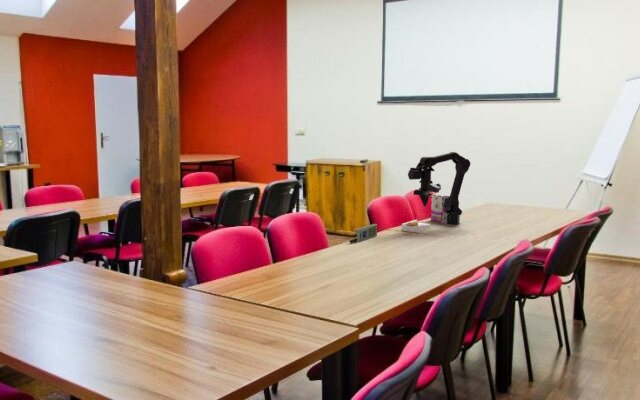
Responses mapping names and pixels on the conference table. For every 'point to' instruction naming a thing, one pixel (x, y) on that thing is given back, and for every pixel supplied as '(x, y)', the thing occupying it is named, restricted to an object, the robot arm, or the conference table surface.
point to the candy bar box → (438, 208)
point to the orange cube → (413, 223)
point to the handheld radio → (365, 233)
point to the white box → (414, 228)
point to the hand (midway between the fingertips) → (425, 206)
